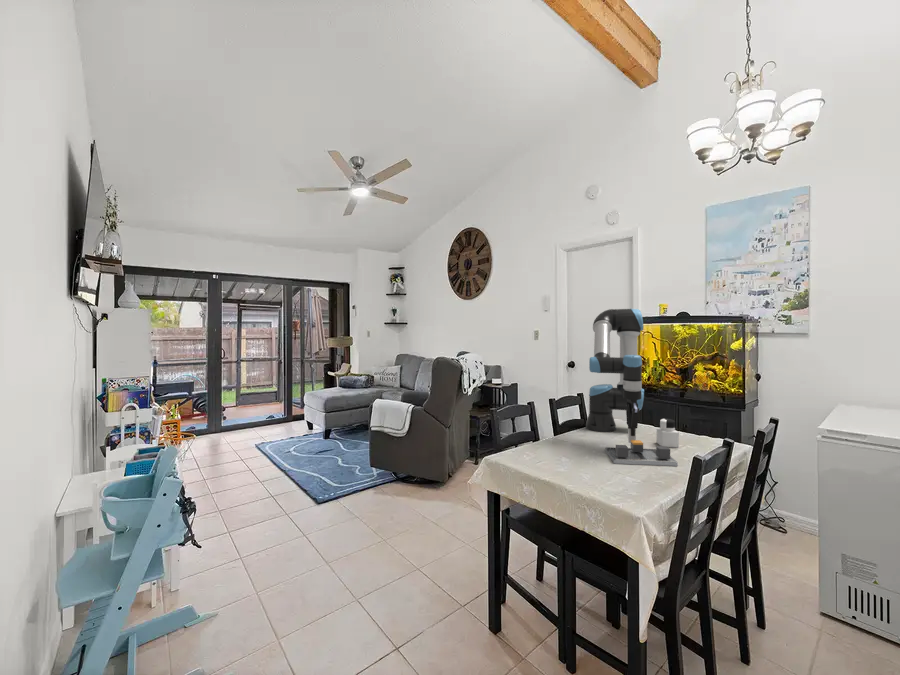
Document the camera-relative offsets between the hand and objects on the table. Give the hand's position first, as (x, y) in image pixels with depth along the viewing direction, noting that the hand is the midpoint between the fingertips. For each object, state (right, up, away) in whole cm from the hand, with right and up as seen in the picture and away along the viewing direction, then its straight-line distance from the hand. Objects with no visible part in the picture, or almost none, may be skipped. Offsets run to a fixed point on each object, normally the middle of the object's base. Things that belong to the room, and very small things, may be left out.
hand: (631, 442), depth 182 cm
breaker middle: (-1, -2, -7) cm, 7 cm away
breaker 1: (-10, -2, -13) cm, 17 cm away
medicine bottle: (+19, -3, +6) cm, 21 cm away
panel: (-2, -4, -11) cm, 11 cm away
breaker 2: (+6, -2, -16) cm, 17 cm away
